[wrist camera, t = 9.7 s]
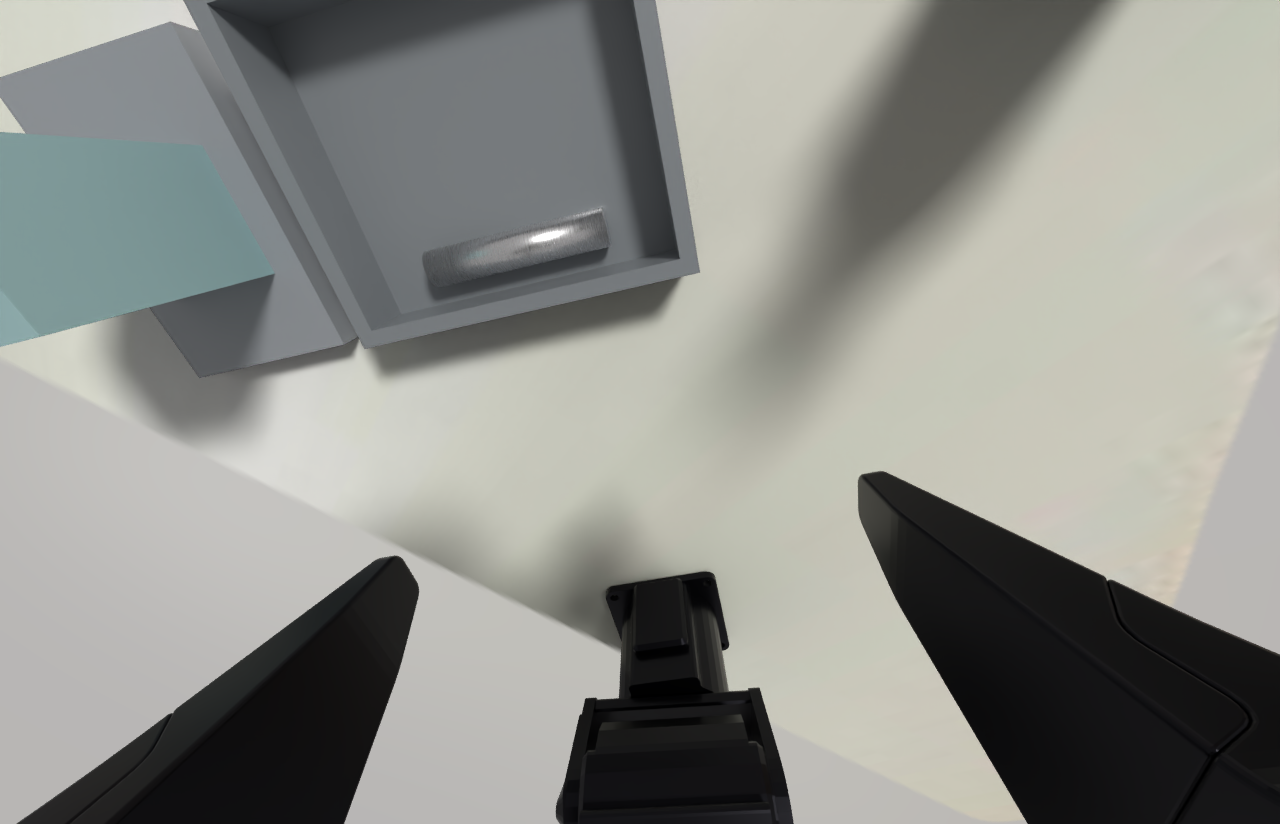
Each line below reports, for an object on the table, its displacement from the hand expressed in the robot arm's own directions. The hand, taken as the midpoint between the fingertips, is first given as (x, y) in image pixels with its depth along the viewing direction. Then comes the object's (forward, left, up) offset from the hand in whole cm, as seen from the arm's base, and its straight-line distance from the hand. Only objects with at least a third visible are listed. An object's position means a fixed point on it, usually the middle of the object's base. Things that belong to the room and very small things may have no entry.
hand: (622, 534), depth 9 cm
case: (+8, +4, -13) cm, 16 cm away
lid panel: (+8, +16, -13) cm, 22 cm away
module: (+8, +15, -12) cm, 21 cm away
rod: (+4, +4, -12) cm, 14 cm away
